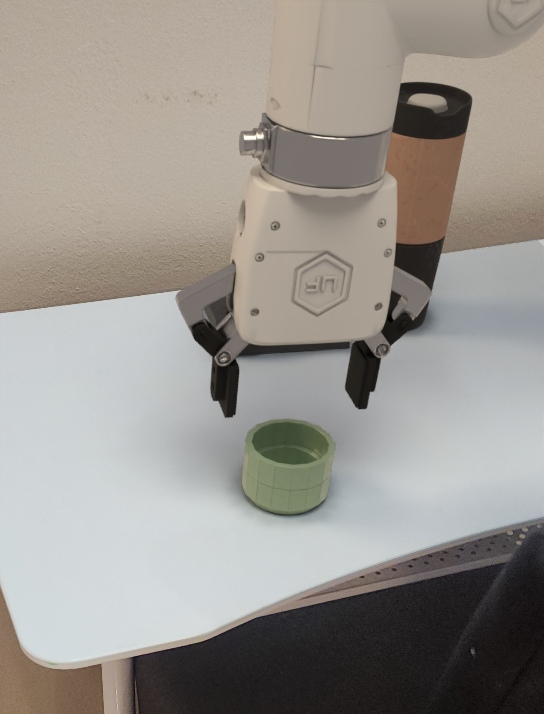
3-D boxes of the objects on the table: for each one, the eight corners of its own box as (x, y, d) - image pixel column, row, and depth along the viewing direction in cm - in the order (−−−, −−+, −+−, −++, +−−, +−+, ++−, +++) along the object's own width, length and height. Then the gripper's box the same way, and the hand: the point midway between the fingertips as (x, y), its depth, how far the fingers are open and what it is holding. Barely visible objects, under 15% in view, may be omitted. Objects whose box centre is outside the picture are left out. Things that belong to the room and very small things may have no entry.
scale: (316, 296, 102) (320, 267, 100) (351, 352, 93) (356, 321, 91) (194, 302, 100) (195, 273, 98) (218, 360, 91) (220, 330, 89)
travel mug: (368, 291, 103) (404, 75, 89) (438, 310, 100) (486, 91, 86) (337, 319, 98) (369, 96, 84) (410, 340, 95) (456, 114, 81)
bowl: (313, 464, 80) (320, 415, 77) (337, 514, 75) (346, 464, 72) (233, 471, 79) (237, 422, 76) (252, 521, 74) (257, 471, 71)
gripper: (195, 176, 56) (182, 440, 67) (484, 170, 58) (423, 424, 70) (171, 132, 61) (163, 384, 73) (437, 128, 64) (388, 371, 76)
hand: (291, 403), depth 71 cm, fingers open, 9 cm apart
